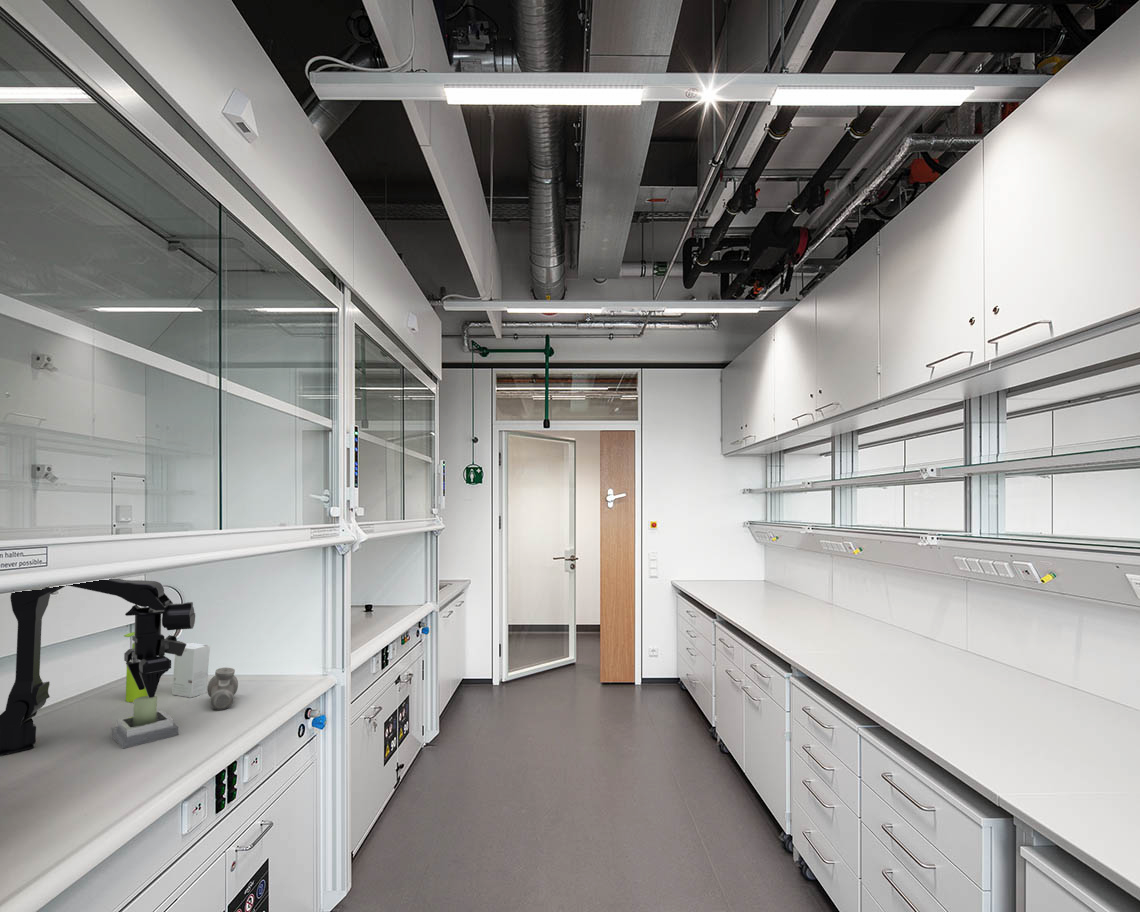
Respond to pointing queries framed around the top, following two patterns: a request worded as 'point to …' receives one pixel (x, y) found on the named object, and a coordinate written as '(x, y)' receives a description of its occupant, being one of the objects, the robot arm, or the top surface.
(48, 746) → the top surface
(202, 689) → the skincare box
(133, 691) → the soap dispenser
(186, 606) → the robot arm
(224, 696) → the pipe fitting
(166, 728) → the grey square holder
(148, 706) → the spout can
